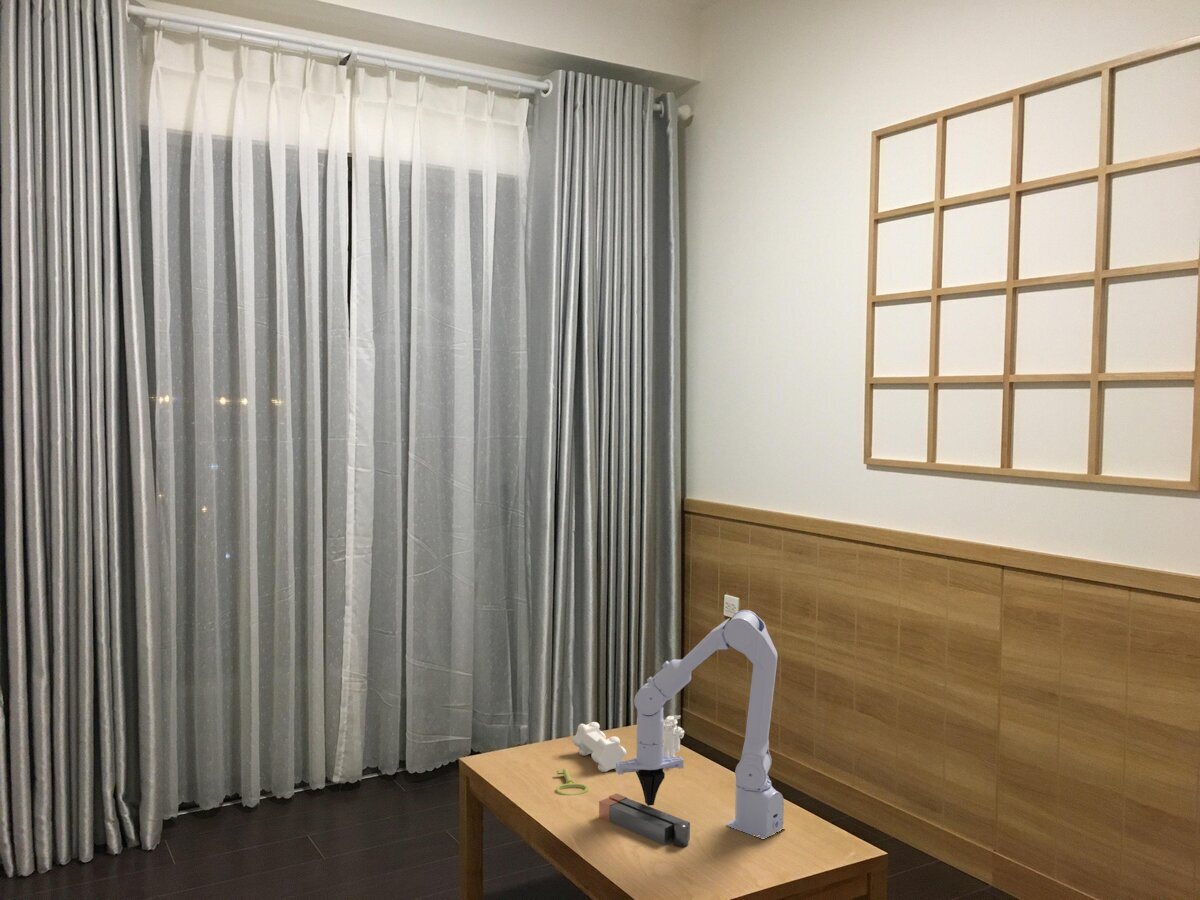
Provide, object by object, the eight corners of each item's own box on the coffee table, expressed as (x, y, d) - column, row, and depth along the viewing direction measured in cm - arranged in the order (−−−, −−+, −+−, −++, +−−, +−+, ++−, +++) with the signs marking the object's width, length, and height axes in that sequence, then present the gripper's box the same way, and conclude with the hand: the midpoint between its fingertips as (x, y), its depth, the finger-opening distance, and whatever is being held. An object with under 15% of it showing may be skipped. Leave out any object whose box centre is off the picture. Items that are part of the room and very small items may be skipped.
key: (566, 776, 226) (566, 767, 226) (592, 794, 216) (592, 785, 215) (538, 781, 223) (538, 772, 223) (563, 801, 212) (563, 791, 212)
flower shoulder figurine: (687, 765, 233) (688, 716, 232) (675, 768, 230) (675, 719, 230) (662, 754, 240) (663, 706, 239) (650, 757, 237) (651, 709, 237)
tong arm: (695, 841, 191) (695, 822, 191) (682, 848, 188) (682, 829, 188) (616, 809, 206) (616, 792, 206) (602, 815, 203) (603, 797, 203)
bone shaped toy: (571, 756, 240) (569, 724, 239) (603, 748, 243) (600, 717, 243) (596, 777, 226) (593, 744, 226) (629, 768, 230) (627, 735, 229)
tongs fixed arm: (672, 842, 191) (672, 824, 191) (664, 846, 189) (664, 828, 189) (607, 814, 204) (607, 797, 204) (599, 818, 202) (599, 801, 202)
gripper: (675, 731, 210) (675, 792, 211) (612, 737, 206) (611, 799, 207) (687, 742, 203) (686, 805, 204) (621, 748, 200) (620, 812, 200)
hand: (649, 803), depth 205 cm, fingers closed
